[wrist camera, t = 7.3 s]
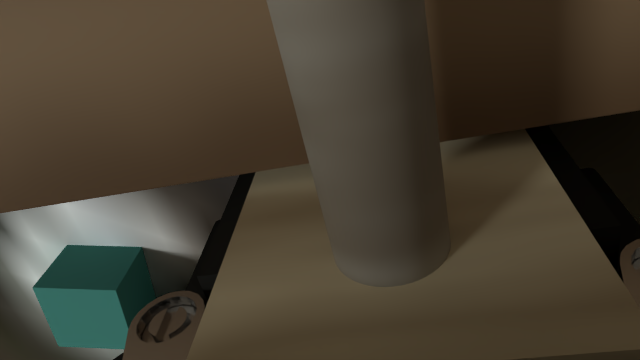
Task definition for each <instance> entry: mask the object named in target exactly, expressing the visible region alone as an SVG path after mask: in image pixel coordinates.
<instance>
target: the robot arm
mask: <svg viewBox="0 0 640 360" xmlns="http://www.w3.org/2000/svg"><path fill="white" fill-rule="evenodd" d="M525 130H526V132H527V133H528V135H529V136H530V138H531V139H532V141H533V142H534V144H535V146H536V147H537V149H538V150H539V152H540V153H541V155H542V157H543V158H544V160H545V161H546V163H547V164H548V166H549V167H550V169H551V171H552V172H553V174H554V175H555V177H556V178H557V180H558V182H559V183H560V185H561V186H562V188H563V189H564V191H565V193H566V194H567V196H568V197H569V199H570V200H571V202H572V203H573V205H574V207H575V208H576V210H577V211H578V213H579V214H580V216H581V218H582V219H583V221H584V222H585V224H586V225H587V227H588V228H589V230H590V232H591V233H592V235H593V236H594V238H595V239H596V241H597V243H598V244H599V246H600V247H601V249H602V250H603V252H604V253H605V255H606V257H607V258H608V260H609V261H610V263H611V264H612V266H613V268H614V269H615V271H616V272H617V274H618V275H619V277H620V278H621V280H622V282H623V283H624V285H625V286H626V288H627V289H628V291H629V293H630V294H631V296H632V297H633V299H634V300H635V302H636V304H637V305H638V307H639V308H640V226H639V224H638V223H637V222H636V221H635V219H634V218H633V217H632V215H631V214H630V213H629V212H628V210H627V209H626V208H625V207H624V205H623V204H622V203H621V202H620V200H619V199H618V198H617V197H616V195H615V194H614V193H613V192H612V190H611V189H610V188H609V186H608V185H607V184H606V183H605V181H604V180H603V179H602V178H601V176H600V175H599V174H598V173H597V172H596V171H595V170H594V169H593V168H585V169H579V167H578V166H577V165H576V163H575V162H574V161H573V159H572V158H571V157H570V155H569V154H568V153H567V151H566V150H565V149H564V147H563V146H562V144H561V143H560V142H559V140H558V139H557V138H556V136H555V135H554V134H553V132H552V131H551V130H550V128H549V127H548V126H547V125H545V126H538V127H532V128H526V129H525ZM255 173H256V172H253V173H246V174H240V175H239V178H238V180H237V182H236V185H235V187H234V189H233V192H232V194H231V197H230V199H229V201H228V204H227V206H226V208H225V211H224V213H223V215H222V218H221V220H218V221H216V223H215V224H214V226H213V229H212V231H211V233H210V236H209V238H208V240H207V242H206V245H205V247H204V249H203V252H202V254H201V256H200V259H199V261H198V263H197V265H196V268H195V270H194V272H193V275H192V277H191V279H190V282H189V284H188V286H187V288H186V291H176V292H171V293H168V294H165V295H163V296H160V297H158V298H156V299H155V300H153V301H151V302H150V303H148V304H147V305H146V306H145V307H144V308H142V309H141V310H140V311H139V312H138V313H137V315H136V316H135V317H134V319H133V320H132V322H131V324H130V327H129V329H128V333H127V339H126V344H125V349H124V353H122V354H121V355H119V356H118V357H116V358H115V359H113V360H186V359H187V356H188V354H189V351H190V348H191V346H192V343H193V340H194V338H195V335H196V332H197V329H198V327H199V324H200V321H201V319H202V316H203V313H204V311H205V308H206V305H207V302H208V300H209V297H210V294H211V292H212V289H213V286H214V284H215V281H216V278H217V275H218V273H219V270H220V267H221V265H222V262H223V259H224V257H225V254H226V251H227V248H228V246H229V243H230V240H231V238H232V235H233V232H234V230H235V227H236V224H237V221H238V219H239V216H240V213H241V211H242V208H243V205H244V203H245V200H246V197H247V194H248V192H249V189H250V186H251V184H252V181H253V178H254V176H255Z"/></svg>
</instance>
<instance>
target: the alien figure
mask: <svg viewBox="0 0 640 360" xmlns="http://www.w3.org/2000/svg"><path fill="white" fill-rule="evenodd" d="M33 290H34V292H35V294H36V297H37V299H38V301H39V303H40V305H41V308H42V310H43V312H44V314H45V317H46V319H47V321H48V323H49V326H50V328H51V330H52V332H53V335H54V337H55V339H56V341H57V344H58V346H62V347H85V348H107V349H125V344H126V339H127V333H128V329H129V327H130V324H131V322H132V320H133V319H134V317H135V316H136V315H137V313H138V312H139V311H140V310H141V309H142V308H144V307H145V306H146V305H147V304H148V303H150V302H151V301H153V300H155V299H156V297H155V293H154V289H153V286H152V282H151V278H150V275H149V271H148V267H147V264H146V260H145V256H144V253H143V249H142V247H121V246H84V245H67V246H66V247H65V248H64V249H63V251H62V252H61V253H60V254H59V256H58V257H57V258H56V259H55V261H54V262H53V263H52V264H51V265H50V267H49V268H48V269H47V270H46V272H45V273H44V274H43V275H42V277H41V278H40V279H39V280H38V282H37V283H36V284H35V285H34V286H33Z"/></svg>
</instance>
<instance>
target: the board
mask: <svg viewBox="0 0 640 360" xmlns="http://www.w3.org/2000/svg"><path fill="white" fill-rule="evenodd" d="M424 2H425V11H426V20H427V30H428V39H429V48H430V57H431V67H432V76H433V85H434V94H435V103H436V113H437V122H438V131H439V140H440V142H445V141H451V140H458V139H464V138H470V137H476V136H482V135H489V134H495V133H501V132H507V131H513V130H520V129H526V128H532V127H538V126H545V125H551V124H557V123H563V122H569V121H576V120H582V119H588V118H594V117H600V116H607V115H613V114H619V113H625V112H631V111H638V110H640V0H424ZM302 164H309V160H308V157H307V153H306V149H305V145H304V141H303V138H302V134H301V130H300V126H299V122H298V119H297V115H296V111H295V107H294V103H293V100H292V96H291V92H290V88H289V84H288V81H287V77H286V73H285V69H284V65H283V61H282V58H281V54H280V50H279V46H278V42H277V39H276V35H275V31H274V27H273V23H272V20H271V16H270V12H269V8H268V4H267V1H266V0H0V213H4V212H10V211H17V210H23V209H29V208H35V207H41V206H48V205H54V204H60V203H66V202H73V201H79V200H85V199H91V198H97V197H104V196H110V195H116V194H122V193H128V192H135V191H141V190H147V189H153V188H159V187H166V186H172V185H178V184H184V183H191V182H197V181H203V180H209V179H215V178H222V177H228V176H234V175H240V174H246V173H253V172H259V171H265V170H271V169H277V168H284V167H290V166H296V165H302Z"/></svg>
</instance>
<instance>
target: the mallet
mask: <svg viewBox="0 0 640 360" xmlns="http://www.w3.org/2000/svg"><path fill="white" fill-rule="evenodd" d="M266 1H267V4H268V8H269V12H270V16H271V20H272V23H273V27H274V31H275V35H276V39H277V42H278V46H279V50H280V54H281V58H282V61H283V65H284V69H285V73H286V77H287V81H288V84H289V88H290V92H291V96H292V100H293V103H294V107H295V111H296V115H297V119H298V122H299V126H300V130H301V134H302V138H303V141H304V145H305V149H306V153H307V157H308V160H309V164H302V165H296V166H290V167H284V168H277V169H271V170H265V171H259V172H256V173H255V176H254V178H253V181H252V184H251V186H250V189H249V192H248V194H247V197H246V200H245V203H244V205H243V208H242V211H241V213H240V216H239V219H238V221H237V224H236V227H235V230H234V232H233V235H232V238H231V240H230V243H229V246H228V248H227V251H226V254H225V257H224V259H223V262H222V265H221V267H220V270H219V273H218V275H217V278H216V281H215V284H214V286H213V289H212V292H211V294H210V297H209V300H208V302H207V305H206V308H205V311H204V313H203V316H202V319H201V321H200V324H199V327H198V329H197V332H196V335H195V338H194V340H193V343H192V346H191V348H190V351H189V354H188V356H187V359H186V360H640V308H639V307H638V305H637V304H636V302H635V300H634V299H633V297H632V296H631V294H630V293H629V291H628V289H627V288H626V286H625V285H624V283H623V282H622V280H621V278H620V277H619V275H618V274H617V272H616V271H615V269H614V268H613V266H612V264H611V263H610V261H609V260H608V258H607V257H606V255H605V253H604V252H603V250H602V249H601V247H600V246H599V244H598V243H597V241H596V239H595V238H594V236H593V235H592V233H591V232H590V230H589V228H588V227H587V225H586V224H585V222H584V221H583V219H582V218H581V216H580V214H579V213H578V211H577V210H576V208H575V207H574V205H573V203H572V202H571V200H570V199H569V197H568V196H567V194H566V193H565V191H564V189H563V188H562V186H561V185H560V183H559V182H558V180H557V178H556V177H555V175H554V174H553V172H552V171H551V169H550V167H549V166H548V164H547V163H546V161H545V160H544V158H543V157H542V155H541V153H540V152H539V150H538V149H537V147H536V146H535V144H534V142H533V141H532V139H531V138H530V136H529V135H528V133H527V132H526V130H525V129H520V130H513V131H507V132H501V133H495V134H489V135H482V136H476V137H470V138H464V139H458V140H451V141H445V142H440V140H439V131H438V122H437V113H436V103H435V94H434V85H433V76H432V67H431V57H430V48H429V39H428V30H427V20H426V11H425V2H424V0H266Z"/></svg>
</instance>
